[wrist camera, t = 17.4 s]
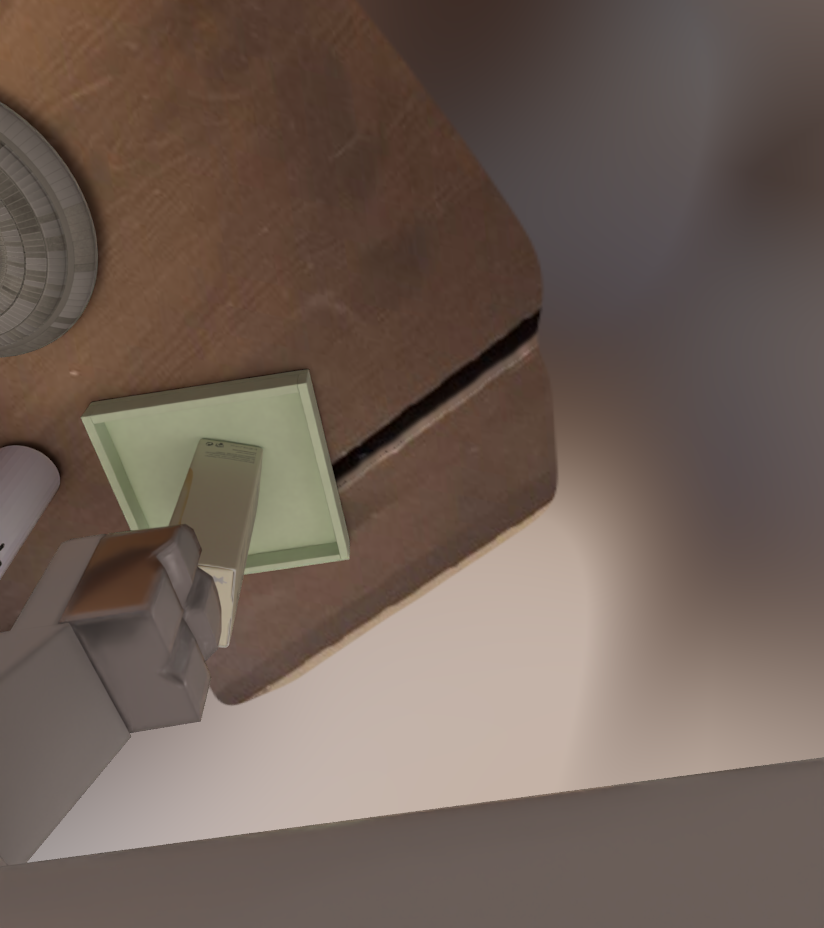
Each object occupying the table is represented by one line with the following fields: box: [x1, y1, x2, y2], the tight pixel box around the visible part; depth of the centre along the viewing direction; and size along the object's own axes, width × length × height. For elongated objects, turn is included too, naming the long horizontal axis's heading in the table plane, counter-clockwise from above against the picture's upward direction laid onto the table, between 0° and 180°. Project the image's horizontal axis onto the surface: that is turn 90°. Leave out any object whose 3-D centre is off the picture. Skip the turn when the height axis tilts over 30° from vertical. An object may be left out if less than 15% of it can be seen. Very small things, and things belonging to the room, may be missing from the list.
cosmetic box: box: [169, 439, 263, 648], centre depth 44 cm, size 6×4×12 cm
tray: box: [81, 369, 350, 575], centre depth 49 cm, size 14×14×2 cm
